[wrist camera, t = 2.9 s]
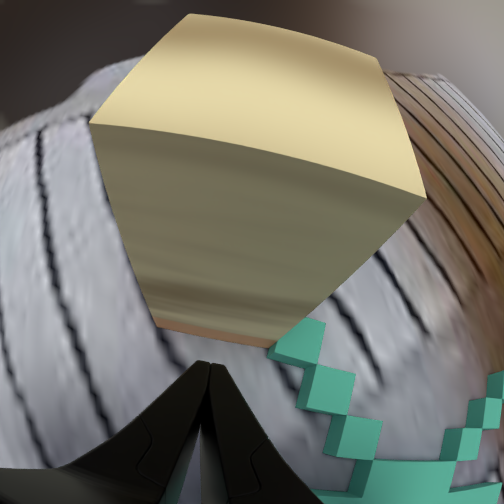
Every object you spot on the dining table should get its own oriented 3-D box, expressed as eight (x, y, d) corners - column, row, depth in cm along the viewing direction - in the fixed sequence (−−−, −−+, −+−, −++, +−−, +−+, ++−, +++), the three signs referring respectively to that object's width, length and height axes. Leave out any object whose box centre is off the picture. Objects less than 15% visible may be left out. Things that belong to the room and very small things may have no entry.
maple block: (268, 348, 16) (427, 198, 5) (156, 326, 16) (88, 122, 4) (279, 251, 19) (375, 58, 8) (182, 231, 19) (188, 13, 7)
